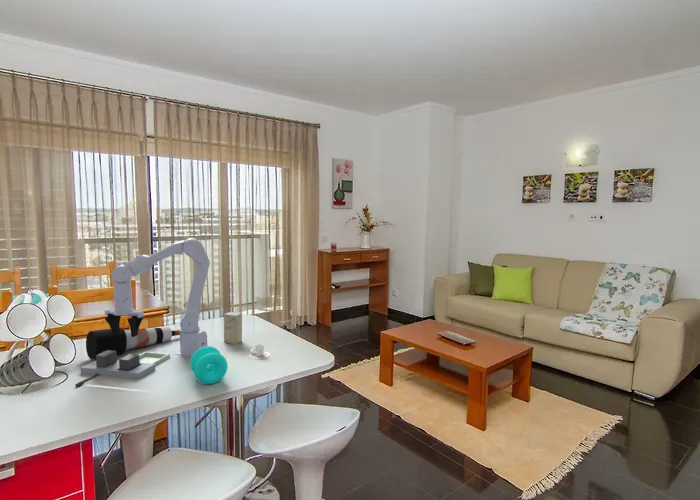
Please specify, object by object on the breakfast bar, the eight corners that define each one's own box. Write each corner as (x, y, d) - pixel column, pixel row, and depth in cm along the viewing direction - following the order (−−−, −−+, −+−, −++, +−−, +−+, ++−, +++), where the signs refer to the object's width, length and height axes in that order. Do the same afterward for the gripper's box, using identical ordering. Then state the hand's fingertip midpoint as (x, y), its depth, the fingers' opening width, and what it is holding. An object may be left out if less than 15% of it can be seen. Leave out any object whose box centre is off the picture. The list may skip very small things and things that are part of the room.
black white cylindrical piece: (181, 349, 171) (189, 330, 168) (92, 365, 144) (99, 343, 141) (171, 334, 176) (178, 315, 173) (83, 346, 149) (89, 325, 146)
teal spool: (220, 370, 138) (219, 342, 136) (228, 381, 129) (228, 351, 128) (189, 377, 132) (188, 348, 131) (196, 388, 124) (195, 357, 123)
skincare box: (223, 342, 166) (222, 314, 164) (230, 339, 170) (229, 311, 169) (236, 344, 164) (235, 315, 162) (242, 341, 168) (242, 312, 166)
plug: (140, 371, 136) (139, 354, 136) (129, 377, 132) (128, 360, 131) (131, 370, 137) (130, 353, 137) (119, 376, 132) (118, 359, 132)
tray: (170, 358, 148) (169, 353, 148) (151, 369, 138) (150, 364, 138) (145, 356, 150) (145, 351, 150) (125, 366, 140) (125, 361, 140)
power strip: (155, 370, 137) (154, 352, 136) (119, 391, 121) (118, 371, 121) (100, 365, 141) (99, 347, 141) (59, 385, 126) (57, 365, 125)
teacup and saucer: (247, 353, 155) (247, 342, 155) (268, 350, 158) (268, 340, 157) (249, 361, 147) (249, 350, 147) (271, 358, 150) (271, 348, 149)
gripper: (96, 300, 141) (99, 337, 143) (132, 302, 138) (134, 340, 140) (112, 295, 148) (114, 331, 150) (146, 297, 145) (148, 334, 147)
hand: (125, 335), depth 145 cm, fingers open, 7 cm apart
